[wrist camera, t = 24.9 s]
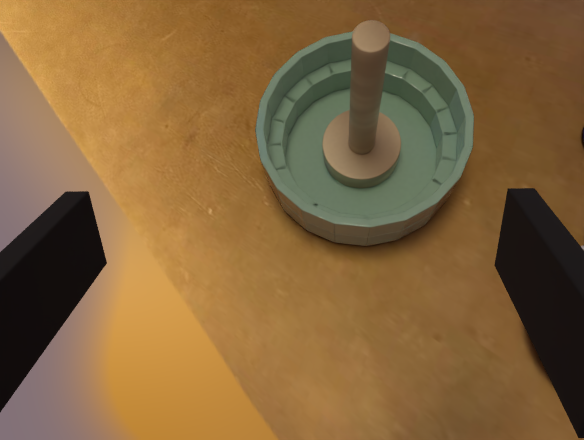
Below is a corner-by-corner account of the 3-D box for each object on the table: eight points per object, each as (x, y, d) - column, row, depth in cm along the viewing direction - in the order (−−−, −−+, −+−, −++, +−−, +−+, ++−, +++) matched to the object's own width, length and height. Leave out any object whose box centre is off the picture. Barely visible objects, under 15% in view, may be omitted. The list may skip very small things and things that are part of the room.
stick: (346, 201, 40) (350, 105, 26) (309, 141, 42) (294, 20, 28) (413, 165, 40) (452, 51, 26) (373, 107, 42) (390, -30, 28)
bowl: (324, 282, 39) (321, 266, 34) (236, 128, 44) (221, 91, 38) (493, 188, 40) (519, 157, 34) (390, 46, 45) (397, -2, 39)
